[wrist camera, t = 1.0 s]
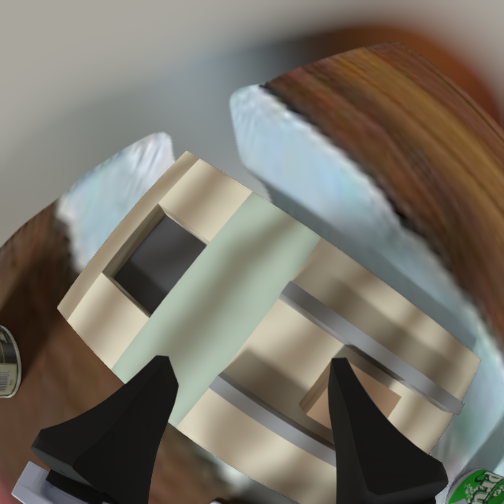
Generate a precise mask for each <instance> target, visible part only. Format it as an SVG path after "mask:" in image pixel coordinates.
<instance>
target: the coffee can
mask: <svg viewBox="0 0 504 504" xmlns="http://www.w3.org/2000/svg"><path fill="white" fill-rule="evenodd" d="M21 373H22V371H21V359H20V354H19V350H18V347H17V344H16V342H15V340H14V337H13V336H12V334H11V333H10V332H9V330H8V329H6V328H5V327H4V326H2V325H0V397H7V398H8V397H11V396H13V395H14V394H15V393H16V392H17V391H18V388H19V385H20V382H21Z"/></svg>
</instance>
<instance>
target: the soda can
mask: <svg viewBox="0 0 504 504" xmlns="http://www.w3.org/2000/svg"><path fill="white" fill-rule="evenodd" d="M462 499H466V501H467V504H504V477H503V476H500V475H498V474H495V473H493V472H490V471H488V470H485V469H481V468H478V469H474V470H472V471H471V472H469V473H467V474H465V475H463V476H462V477H461V478H460V479H458V480H457V482H456V483H455V484H454V485H453V486H452V488H451V489H450V491H449V493H448V495H447V498H446V503H445V504H452V503H455V502H457V501H460V500H462Z"/></svg>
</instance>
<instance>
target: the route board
mask: <svg viewBox="0 0 504 504" xmlns="http://www.w3.org/2000/svg"><path fill="white" fill-rule="evenodd" d="M57 309H58V310H59V311H60V313H61V314H62V315H63V316H64V318H65V319H66V320H67V321H68V323H69V324H70V325H71V326H72V327H73V329H74V330H75V331H76V332H77V333H78V335H79V336H80V337H81V338H82V339H83V340H84V341H85V343H86V344H87V345H88V346H89V347H90V348H91V349H92V350H93V351H94V353H95V354H96V355H97V356H98V357H99V358H100V359H101V360H102V361H103V362H104V363H105V364H106V365H107V366H108V367H109V368H110V369H111V370H112V371H113V372H114V373H115V374H116V375H117V376H118V377H119V378H120V379H121V380H122V381H123V382H124V383H125V384H126V383H127V382H128V381H129V380H130V379H131V378H133V377H134V376H135V375H136V374H137V373H138V372H139V371H140V370H141V369H142V368H143V367H144V366H145V365H146V364H148V363H149V362H150V361H151V360H152V359H153V358H154V357H155V356H156V355H162V356H169V359H170V362H171V365H172V367H173V370H174V373H175V376H176V378H177V381H178V384H179V388H178V393H177V397H176V401H175V405H174V407H173V410H172V412H171V415H170V418H169V420H168V422H169V423H171V424H172V425H173V426H174V427H176V428H177V429H178V430H180V431H181V432H182V433H183V434H185V435H186V436H187V437H189V438H190V439H191V440H193V441H194V442H196V443H197V444H198V445H200V446H201V447H203V448H204V449H206V450H207V451H208V452H210V453H211V454H213V455H214V456H216V457H217V458H219V459H220V460H222V461H223V462H225V463H227V464H228V465H230V466H231V467H233V468H235V469H236V470H238V471H239V472H241V473H243V474H244V475H246V476H248V477H250V478H251V479H253V480H255V481H257V482H258V483H260V484H262V485H264V486H266V487H268V488H270V489H271V490H273V491H275V492H277V493H279V494H281V495H283V496H285V497H287V498H289V499H291V500H294V501H296V502H298V503H300V504H336V454H335V446H334V439H333V433H332V430H331V429H329V428H327V427H326V426H324V425H322V424H321V423H319V422H317V421H316V420H314V419H312V418H311V417H309V416H308V415H306V414H305V412H304V411H303V409H302V408H301V407H300V405H299V403H300V402H301V400H302V399H303V398H304V396H305V395H306V394H307V392H308V391H309V390H310V389H311V387H312V386H313V385H314V383H315V382H316V380H317V379H318V378H319V376H320V375H321V374H322V372H323V371H324V369H325V368H326V367H327V365H328V364H329V362H330V361H331V358H343V357H346V358H347V359H348V361H349V362H350V363H351V364H353V365H354V366H356V367H357V368H359V369H360V370H362V371H363V372H365V373H366V374H368V375H369V376H371V377H372V378H374V379H375V380H377V381H378V382H380V383H381V384H383V385H384V386H386V387H387V388H389V389H390V390H392V391H394V392H395V393H397V394H398V395H400V396H401V399H400V400H399V402H398V403H397V405H396V406H395V408H394V409H393V411H392V412H391V414H390V415H389V417H388V418H387V419H388V420H389V421H390V422H391V423H392V424H393V425H394V426H395V427H396V428H397V429H398V430H399V431H400V432H401V433H402V434H403V435H404V436H405V437H407V438H408V439H409V440H410V441H411V442H412V443H414V444H415V445H416V446H417V447H419V448H420V449H421V450H423V451H424V452H426V453H427V454H429V453H430V452H431V450H432V449H433V447H434V446H435V444H436V443H437V441H438V440H439V438H440V437H441V435H442V434H443V432H444V430H445V429H446V427H447V426H448V424H449V422H450V421H451V419H452V417H453V415H454V414H456V415H459V413H460V412H461V410H462V408H463V406H464V403H463V402H461V401H462V399H463V397H464V395H465V393H466V391H467V389H468V387H469V385H470V383H471V381H472V379H473V377H474V375H475V373H476V371H477V368H478V366H479V364H480V362H481V359H480V358H479V357H477V356H476V355H475V354H474V353H473V352H472V351H470V350H469V349H468V348H467V347H466V346H464V345H463V344H462V343H461V342H460V341H458V340H457V339H456V338H455V337H454V336H452V335H451V334H450V333H449V332H448V331H446V330H445V329H444V328H443V327H441V326H440V325H439V324H438V323H436V322H435V321H434V320H433V319H431V318H430V317H429V316H428V315H426V314H425V313H424V312H423V311H421V310H420V309H419V308H417V307H416V306H415V305H414V304H412V303H411V302H410V301H408V300H407V299H406V298H405V297H403V296H402V295H401V294H399V293H398V292H397V291H395V290H394V289H393V288H391V287H390V286H389V285H387V284H386V283H385V282H383V281H382V280H381V279H379V278H378V277H377V276H375V275H374V274H373V273H371V272H370V271H368V270H367V269H366V268H364V267H363V266H362V265H360V264H359V263H357V262H356V261H355V260H353V259H352V258H350V257H349V256H348V255H346V254H345V253H343V252H342V251H341V250H339V249H338V248H336V247H335V246H334V245H332V244H331V243H329V242H328V241H326V240H325V239H324V238H322V237H321V236H319V235H318V234H316V233H315V232H313V231H312V230H310V229H309V228H308V227H306V226H305V225H303V224H302V223H300V222H299V221H297V220H296V219H294V218H293V217H291V216H290V215H288V214H287V213H285V212H284V211H282V210H281V209H279V208H278V207H276V206H275V205H273V204H272V203H270V202H268V201H267V200H265V199H264V198H262V197H261V196H259V195H257V194H256V193H254V192H253V191H251V190H250V189H248V188H247V187H245V186H243V185H242V184H240V183H239V182H237V181H236V180H234V179H232V178H231V177H229V176H227V175H226V174H224V173H223V172H221V171H219V170H218V169H216V168H215V167H213V166H211V165H210V164H208V163H206V162H205V161H203V160H201V159H199V158H198V157H196V156H195V155H193V154H191V153H190V152H188V151H186V152H185V153H184V154H183V155H182V156H181V157H180V158H179V159H178V160H177V161H176V162H175V163H174V164H173V165H172V166H171V167H170V168H169V169H168V170H167V171H166V172H165V173H164V174H163V175H162V176H161V177H160V178H159V179H158V180H157V182H156V183H155V184H154V185H153V186H152V187H151V188H150V189H149V190H148V191H147V192H146V194H145V195H144V196H143V197H142V198H141V199H140V200H139V201H138V203H137V204H136V205H135V206H134V207H133V208H132V209H131V211H130V212H129V213H128V214H127V215H126V216H125V218H124V219H123V220H122V221H121V222H120V224H119V225H118V226H117V227H116V228H115V230H114V231H113V232H112V233H111V235H110V236H109V237H108V238H107V240H106V241H105V242H104V243H103V245H102V246H101V247H100V248H99V250H98V251H97V252H96V254H95V255H94V256H93V258H92V259H91V260H90V261H89V263H88V264H87V266H86V267H85V268H84V270H83V271H82V272H81V274H80V275H79V276H78V278H77V279H76V281H75V282H74V284H73V285H72V286H71V288H70V289H69V291H68V292H67V294H66V295H65V297H64V298H63V300H62V301H61V303H60V304H59V306H58V307H57Z"/></svg>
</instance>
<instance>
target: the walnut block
mask: <svg viewBox="0 0 504 504" xmlns="http://www.w3.org/2000/svg"><path fill="white" fill-rule="evenodd" d="M349 363H350V362H349ZM350 365H351V367H352V369H353V371H354V373H355V374H356V376H357V378H358V379H359V381H360V383H361V384H362V386H363V387H364V389H365V390H366V392H367V393H368V395H369V396H370V398H371V399H372V400H373V402H374V403H375V404H376V406H377V407H378V408H379V409H380V411H381V412H382V413H383V414H384V415H385V417H386V418H388V417H389V415H390V414H391V412H392V411H393V409H394V408H395V406H396V405H397V403H398V402H399V400H400V399H401V396H400V395H398V394H397V393H395V392H394V391H392V390H390V389H389V388H387V387H386V386H384V385H383V384H381V383H380V382H378V381H377V380H375V379H374V378H372V377H371V376H369V375H368V374H366V373H365V372H363V371H362V370H360V369H359V368H357V367H356V366H354V365H353V364H351V363H350ZM330 366H331V361H330V362H329V364H328V365H327V367H326V368H325V369H324V371H323V372H322V374H321V375H320V376H319V378H318V379H317V380H316V382H315V383H314V385H313V386H312V387H311V389H310V390H309V391H308V392H307V394H306V395H305V396H304V398H303V399H302V400H301V402H300V403H299V405H300V407H301V408H302V409H303V411H304V412H305V414H306V415H308V416H309V417H311V418H312V419H314V420H316V421H317V422H319V423H321V424H322V425H324V426H326V427H327V428H329V429H331V430H332V427H331V421H330V414H329V407H328V382H329V374H330Z"/></svg>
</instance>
